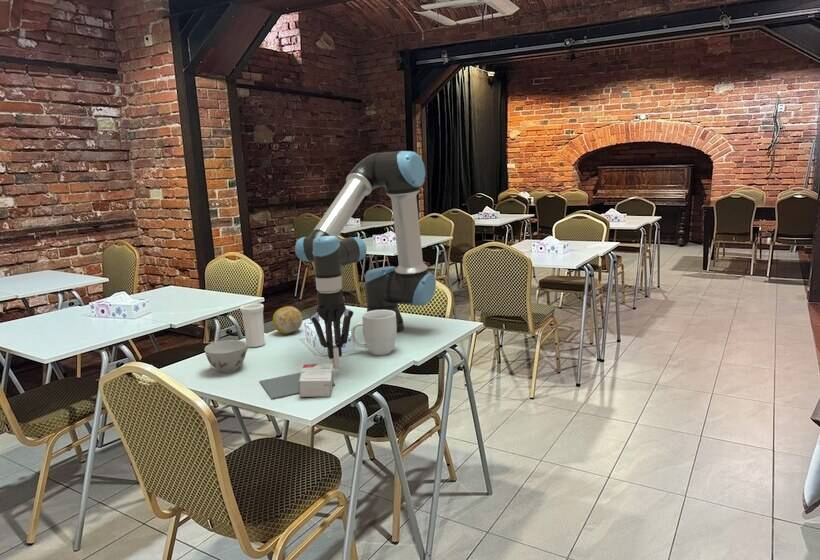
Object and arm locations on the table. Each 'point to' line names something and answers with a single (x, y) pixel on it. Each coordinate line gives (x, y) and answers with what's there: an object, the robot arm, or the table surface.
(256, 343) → the cup
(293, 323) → the fruit
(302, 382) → the ink box
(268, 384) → the mat
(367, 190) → the robot arm
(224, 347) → the teacup
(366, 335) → the mug
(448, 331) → the table surface
